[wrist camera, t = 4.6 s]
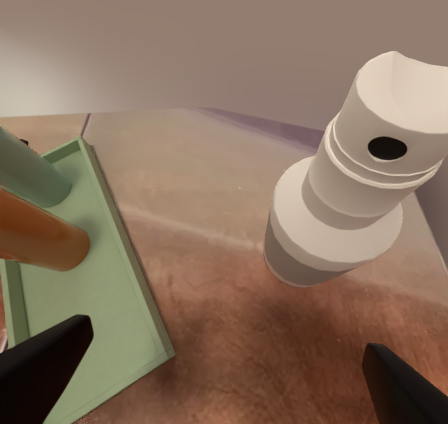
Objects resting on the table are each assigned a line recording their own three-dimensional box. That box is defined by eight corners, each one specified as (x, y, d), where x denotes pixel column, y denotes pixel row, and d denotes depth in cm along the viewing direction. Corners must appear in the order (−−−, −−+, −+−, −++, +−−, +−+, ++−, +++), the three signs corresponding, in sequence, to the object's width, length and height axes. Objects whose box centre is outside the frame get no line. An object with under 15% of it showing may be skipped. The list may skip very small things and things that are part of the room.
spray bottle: (250, 263, 22) (249, 127, 6) (282, 210, 24) (345, 1, 8) (315, 303, 20) (582, 258, 4) (344, 241, 22) (600, 43, 6)
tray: (176, 354, 20) (168, 359, 18) (44, 442, 18) (19, 457, 16) (90, 145, 32) (80, 135, 30) (6, 187, 30) (-11, 179, 28)
